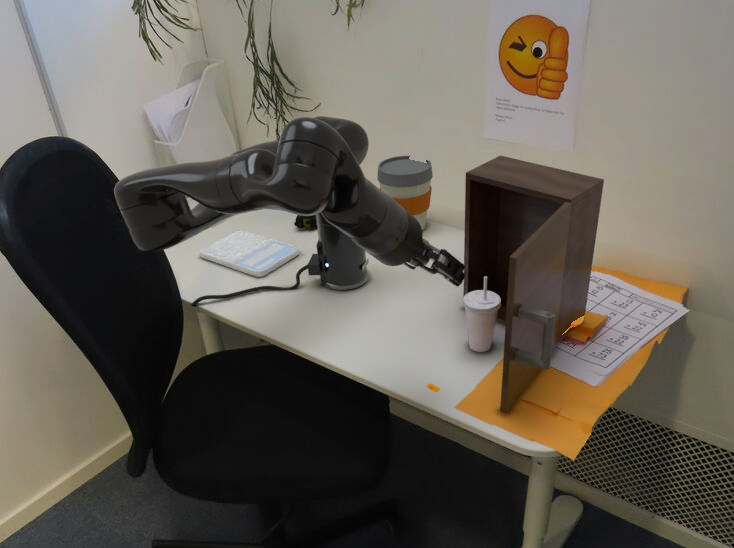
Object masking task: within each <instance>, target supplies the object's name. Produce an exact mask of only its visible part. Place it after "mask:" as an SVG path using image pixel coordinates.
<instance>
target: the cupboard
mask: <svg viewBox="0 0 734 548" xmlns="http://www.w3.org/2000/svg"><path fill="white" fill-rule="evenodd" d="M464 184H465V185H464V186H465V187H464V188H465V190H464V191H465V193H464V194H465V195H464V243H463V245H464V246H463V248H464V250H463V264H464V265H465V266H466V267H465V269H464V270H463V273H464V274H465V278H464V280H463V294H462V295H463V298H464V296H465V295H466V294H467V293H469V292H472V291H476V290H484V277H485V276H486V277H487V290H488V291H492V292H494V293H496V294H498V295H499V296H500V298H501V306H500V308H499V309H498V313H497V318H496V323H498V324H499V325H502V326H506V309H507V293H508V277H509V261H510V256H511V255H512V254H513V253H514V252H515V251H516V250H517V249H518V248H519V247H520V246H521V245H522V244H523V243H524V242H525V241H526V240H527V239H528V238H529V237H530V236H531V235H533V234H534V233H535V232H536V231H537V230H538V229H539V228H540V227H541V226H542V225H543V224H544V223H545V222H546V221H547V220H548V219H549V218H550V217H551V216H552V215H553V214H554V213H555V212H556V211H557V210H558V209H559V208H560V207H561V206H562V205H563V204H564V203H565V202H568V203H572V204H571V213H570V222H569V230H568V239H567V248H566V257H565V265H564V274H563V283H562V292H561V300H560V309H559V318H558V327H557V335H556V344H555V346H556V345H557V344H559V343H560V342H561V341H562V340H563V339H565V338H566V337H568V335H569V334H571V333H572V332H573V331H574V330H575V329H577V328H576V327H572V328H570V329H569V330H568V331H567V332H566V333H564V332H565V331H566V330H567V329H568V328H569V327H570V326H571V323H572V322H573V321H575V320H577V319H578V318H580V317H582V316H584V315H585V317H584V318H586V310H587V304H588V303H587V302H588V297H589V289H590V281H591V275H592V268H593V260H594V254H595V247H596V240H597V232H598V227H599V219H600V211H601V204H602V197H603V191H604V190H603V189H604V184H605V179H604V178H600V177H595V176H591V175H586V174H582V173H578V172H574V171H570V170H565V169H561V168H557V167H556V168H555V167H552V166H549V165H543V164H539V163H535V162H530V161H525V160H521V159H517V158H513V157H508V156H505V155H498V156H496V157H494V158H492V159H490V160H488V161H486V162H484V163H482V164H480V165H478V166H476V167H474V168H472V169H470V170H467V171H466V172H465V183H464ZM463 298H462V299H463ZM462 309H464V310H465V308H464V307H463V306H462ZM563 333H564V334H563ZM562 334H563V335H562Z"/></svg>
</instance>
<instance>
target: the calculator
mask: <svg viewBox="0 0 734 548" xmlns="http://www.w3.org/2000/svg"><path fill="white" fill-rule="evenodd" d="M298 255H300V248H299V247H297V246H295V245H292V244H289V243H285V242H282V241H279V240H276V239H272V238H268V237H265V236H263V235H259V234H255V233H252V232H249V231H245V230H241V229H240V230H239V229H238V230H236V231H233V232H232V233H230V234H228V235H226V236H224V237H222V238H220V239H218V240H217V241H214V242H212V243H211V244H209V245H207V246H204V248H201V249H199V256H200V257H201V258H203V259H204V260H207V261H211V262H213V263H216V264H219V265H222V266H225V267H227V268H230V269H233V270H236V271H239V272H241V273H245V274H247V275H250V276H253V277H257V278H262V277H264V276H266V275H268V274H270V273H271V272H273V271H275V270H276V269H278V268H279V267H281V266H283V265H284V264H286V263H288V262H289V261H291V260H293V259H295V258H296V257H297V256H298Z"/></svg>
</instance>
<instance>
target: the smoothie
mask: <svg viewBox="0 0 734 548" xmlns="http://www.w3.org/2000/svg"><path fill="white" fill-rule="evenodd" d="M500 306H501V298H500V296H499V295H498V294H496V293H494V292H492V291H488V290H487V277H486V276H485V277H484V290H476V291H472V292H469V293H467V294H466V295H465V296H464V298H462V308H463V307H464V308H465V309H464V311H465V320H466V328H467V336H468V344H469V349H471V350H472V351H473V352H477V353H483V352H487V351H489V350H490V349H491V348H492V344H493V338H494V332H495V328H496V323H497V322H496V318H497V313H498V309H499V308H500Z"/></svg>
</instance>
